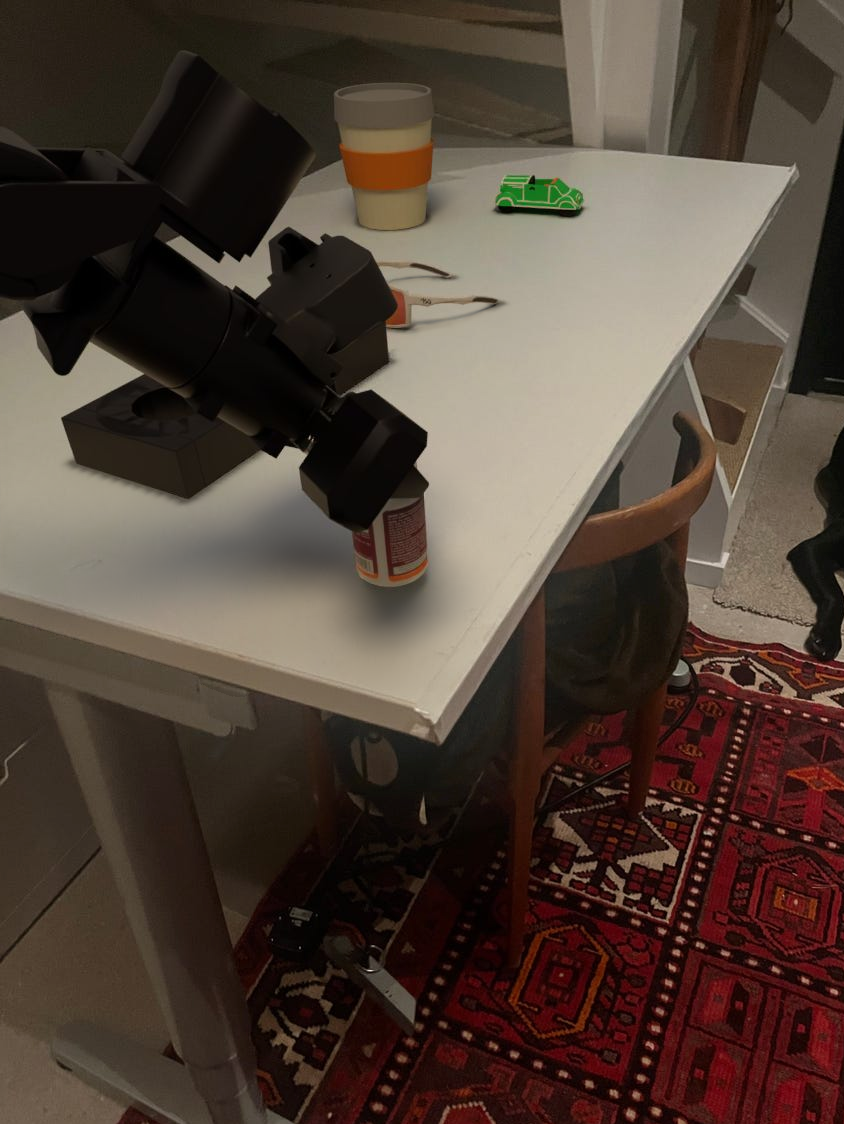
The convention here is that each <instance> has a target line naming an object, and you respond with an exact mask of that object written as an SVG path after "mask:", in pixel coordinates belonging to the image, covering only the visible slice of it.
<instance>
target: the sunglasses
mask: <svg viewBox="0 0 844 1124" xmlns="http://www.w3.org/2000/svg"><path fill="white" fill-rule="evenodd" d="M375 261H376V263H377V265H378V266H379V268H380V267H390V268H395V269H406V268H407V269H417V270H422V271H425V272H429V273H432V274H435V275H437V276H440V277H444V278H446V279H447V278H448V279H449V278H452V276H453V273H451V272H449V271H447V270H444V269H442V268H439V267H436V266H435V265H430V264H427V263H424V262H419V261H414V260H375ZM387 284H388V286H389V287H390V289H391V291H392V293H393V295H394V297H395V299H396V301H397V303H398V307H397V310H396V312H395V313H394V314H393V315H392V316H391V317H390V318H389V319H388V320H386V328H390V329H391V328H392V329H393V328H394V329H400V328H401V329H402V328H408V327H409V326H411V325H412V307H413V306H421V307H431V306H434V305H441V304H455V305H462V306H464V305H468V304H474V303H481V304H491V305H497V304H498V302H499V301H500V300H499V298H497V297H493V296H487V295H474V294H473V295H467V296H433V295H425V294H424V295H423V294H413V293H410V292H409V291H408V290H407V289H403V288H400V287H397V286H393V285H391V284H389V283H388V282H387Z"/></svg>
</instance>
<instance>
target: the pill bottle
mask: <svg viewBox="0 0 844 1124" xmlns="http://www.w3.org/2000/svg"><path fill="white" fill-rule="evenodd" d="M414 466H415V467H416V468H417V469H418V460H417V461H416V462H415V464H414ZM426 521H427V520H426V505H425V493H424V494H423V495H422V496H421V497H420V498H403V499H389V500H388V502H387V503H386V505H385V506H384V507H383V509H382V510H381V512H380V513H379V514H378V516H377V517H376V519H375V520H374V521H373V523H372V524H371V526H370V527H369V528H368V530H366V531H363V532H360V533H357V534H356V533H354V532H352V531H351V533H352V534H351V537H352V544H353V553H354V560H355V568H356V571H357V574H358V576H359V577H360V578H361V579H363V580H364V581H365V582H367V583H369V584H371V585H375V586H379V587H387V588H394V587H395V588H396V587H402V586H405V585H408V584H411V583H413V582H415V581H416V580H418V579H420V577H422V576H423V574H424V573H425V572H426V571H427V569H428V565H429V558H428V557H429V556H428V555H429V554H428V539H427V535H428V534H427V522H426Z"/></svg>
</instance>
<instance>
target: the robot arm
mask: <svg viewBox="0 0 844 1124" xmlns="http://www.w3.org/2000/svg"><path fill="white" fill-rule="evenodd" d="M316 157H317V153H316V151H315V149H314V148H313V147H312V145H311V144H310V143H309V142H308V141H307V139H306V138H304V136H303V135H302V134H301V133H300V132H299V131H298V130H297V129H296V128H295V127H294V126H292V124H291V123H290V122H288V120H286V118H284V117H283V116H282V115H281V114H280V113H279V112H278V111H276V110H275V109H273V108H270V107H268V106H266V105H263V104H261V103H259V102H258V101H257V100H256V99H255V98H254V97H252V96H251V95H250V94H248V92H246V91H245V90H243V89H242V88H241V87H240V86H238V85H237V84H236V83H234V82H233V81H232V80H230V79H229V78H228V77H225V76H224V75H223V74H221V73H219V72H218V71H217V70H216V69H215V68H214V67H213V66H212V65H211V64H210V63H209V62H208V61H207V60H206V59H205V58H203V57H202V56H201V55H200V54H197V53H194V52H191V51H188V50H179V51H178V52H177V54H176V55H175V57H174V59H173V60H172V61H171V63H170V65H169V67H168V69H167V70H166V72H165V74H164V77H163V80H162V83H161V87H160V89H159V93H158V95H157V97H156V99H155V100H154V102H153V103H152V105H151V107H150V109H149V110H148V112H147V113H146V115H145V116H144V118H143V119H142V122H141V123H140V125H139V126H138V128H137V130H136V132H135V133H134V134H133V137H132V138H131V140H130V142H129V143H128V145H127V146H126V148H125V150H124V151H123V153H122V155H121V156H120V158H119V157H118V156H116V155H115V154H114V153H112V152H111V151H109V150H108V149H105V148H92V147H90V146H87V147H86V148H85V147H84V148H83V147H47V146H44V147H43V146H41V147H40V146H33V145H32V144H31V143H29V142H28V141H27V140H25V139H24V138H22V137H21V136H20V135H19V134H17V133H16V132H14V131H12V130H10V129H8V128H6V127H4V126H1V125H0V298H3V299H6V300H11V301H23V303H22V305H21V310H22V311H23V313H24V314H25V315H26V317H27V318H28V320H29V322H30V323H31V325H32V328H33V330H34V334H35V339H36V346H37V349H38V350H39V352H40V354H41V355H42V356H43V358H44V359H45V360H46V362H47V363H48V365H49V366H50V369H52V371H53V372H54V373H55V374H56V375H57V376H60V377H66V376H68V375H69V374H70V373H71V372H72V371H73V369H74V367H75V366H76V364H77V362H78V361H79V359H80V358H81V356H82V355H83V353H84V351H85V349H86V348H87V346H88V345H89V343H91V344H93V345H94V346H95V347H97V348H99V349H101V350H103V351H105V352H106V353H108V354H110V355H111V356H112V357H114V358H117V359H118V360H120V361H122V362H123V363H125V364H127V365H129V366H130V367H132V368H133V369H135V370H137V371H139V373H142V374H145V375H147V376H149V377H150V378H152V379H154V380H155V381H157V382H159V383H161V384H162V385H164V386H166V387H167V388H169V389H171V390H172V391H174V392H176V393H177V394H179V395H181V396H182V397H183V398H184V399H185V400H186V401H187V402H188V404H189V405H190V406H191V407H192V408H193V409H194V410H195V411H196V413H198V414H200V415H202V416H203V417H205V418H207V419H208V420H210V421H212V422H213V421H214V420H215V418H216V417H218V418H220V419H222V420H223V421H225V422H227V423H228V424H230V425H232V426H234V427H235V428H237V429H239V430H240V431H242V432H244V433H245V434H247V435H249V437H250V436H251V437H250V439H251V440H252V441H253V442H254V443H255V444H256V445H257V446H258V447H259V448H260V451H262V452H264V453H265V454H267V455H269V456H270V457H272V458H274V459H275V460H277V459H278V457H279V456H280V454H281V453H282V451H283V450H284V449H285V448H286V447H288V448H293V449H297V450H299V451H301V453H303V454H305V455H306V456H305V458H304V459H303V460H302V462H301V464H300V465H299V466H298V472H299V480H300V485H301V490H302V492H303V493H304V494H305V495H306V496H307V497H308V498H309V499H310V500H311V501H312V502H313V503H314V504H315V506H316V507H317V508H318V509H319V510H320V511H321V512H322V513H323V514H324V515H325V516H326V517H327V518H328V519H329V520H330V521H332V522H333V523H335V524H338V525H339V526H341V527H342V528H345V529H347V530H349V531H350V532H351V533H352V532H354V533H356V534H357V533H360V532H363V531H366V530H368V528H369V527H370V526H371V524H372V523H373V521H374V520H375V519H376V517H377V516H378V514H379V513H380V512H381V510H382V509H383V507H384V506H385V505H386V503H387V502H388V500H389V499H403V498H420V497H421V496H422V495H423V494H424V495H425V492H426V491H427V490H428V488H429V486H430V482H429V481H428V479H427V478H426V477H424V475H423V474H422V472H421V471H420V470H419V469H418V467H417V468H416V467H415V466H414V464H415V462H416V461H417V462H418V459H420V456H422V454H423V453H424V451H425V450H426V448H427V447H428V438H429V437H428V436H429V432H428V431H427V430H426V429H424V428H423V427H421V426H420V425H419V424H418V423H417V422H415V421H414V420H413V419H411V418H410V417H409V416H407V414H405V413H404V412H403V411H401V410H400V409H399V408H397V407H396V406H395V405H393V404H392V403H391V402H389V401H388V400H387V399H385V398H384V397H383V396H381V395H380V394H378V393H377V392H376V391H374V390H373V389H367V390H363V391H360V392H355V391H348V392H346V394H344V395H342V396H341V395H338V393H337V389H336V383H335V381H336V379H337V378H338V376H339V375H340V373H341V372H342V370H343V369H344V366H343V365H341V364H340V363H339V362H338V361H336V360H335V359H334V358H332V357H331V356H329V355H328V354H334V353H337V352H340V351H342V350H343V349H345V348H346V347H347V346H349V345H350V344H351V343H353V342H354V341H355V340H356V339H358V338H359V337H360V336H361V335H363V334H364V333H365V332H367V331H368V330H369V329H370V328H372V327H373V326H374V325H376V324H377V323H378V322H385V321H386V320H388V319H389V318H390V317H391V316H392V315H393V314H394V313H395V312H396V310H397V307H398V303H397V301H396V299H395V297H394V295H393V293H392V291H391V289H390V287H389V286H388V284H389V283H388V281H387V280H386V278H385V276H384V274H383V272H382V270H381V269H380V267H379V266H378V265H377V263H376V261H377V260H376V258H375V257H374V255H373V254H372V251H370V250H369V249H367V247H364V246H362V245H360V244H359V243H357V242H356V241H353V240H352V239H350V238H348V237H346V236H344V235H333V236H331V235H330V234H328V233H326V232H325V233H323V234H322V235H320V237H319V239H320V240H321V243H320V244H318V243H316V242H314V241H313V240H311V239H310V238H308V237H307V236H305V235H303V234H302V233H300V232H299V231H298V230H296V229H294V228H292V227H291V226H287V227H285V228H284V229H282V230H281V231H280V232H278V233H277V234H276V235H274V236H273V237H272V238H270V239H269V240H268V242H267V243H268V254H269V261H270V270H271V274H269V275H268V276H267V277H266V279H267V281H268V282H269V284H270V285H269V286H268V287H267V288H266V289H264V290H263V292H261V293H260V294H259V295H258V296H257V297H256V298H254V297H253V296H252V295H250V294H249V293H247V292H246V291H245V290H243V289H242V288H240V287H239V286H238V285H234V287H233V288H231V287H229V286H228V285H226V284H223V283H221V281H219V280H217V279H216V278H214V277H213V276H212V275H211V274H209V273H208V272H207V271H205V270H204V269H203V268H201V267H200V266H198V265H196V264H195V263H194V262H193V261H191V260H190V259H189V258H187V257H186V256H184V255H183V254H182V253H180V252H178V251H177V250H176V249H175V248H173V247H172V246H170V245H169V244H168V243H166V242H165V241H164V240H162V239H161V238H159V237H158V236H157V235H156V234H157V232H158V230H159V229H160V227H161V226H162V224H164V225H166V226H167V227H169V228H170V229H171V230H173V231H174V232H175V233H177V234H178V235H179V236H181V237H182V238H184V240H186V241H188V242H189V243H190V244H191V245H193V246H194V247H195V248H197V249H198V250H199V251H201V252H202V253H204V254H205V255H207V256H208V257H209V258H210V259H212V260H213V261H215V263H217V264H218V265H220V264H221V262H222V261H223V259H224V257H225V256H226V254H227V255H228V256H230V257H231V258H233V260H235V261H237V262H238V263H241V261H242V260H243V258H244V257H245V255H246V256H247V257H249V258H252V256H253V255H254V253H255V252H256V250H257V249H258V247H259V246H260V244H261V242H262V241H263V239H264V238H265V236H266V235H267V233H268V232H269V230H270V229H271V227H272V225H273V224H274V222H275V220H277V218H278V216H279V215H280V213H281V211H282V210H283V208H284V207H285V205H286V203H287V202H288V200H289V199H290V198H291V196H292V195H293V192H294V191H295V190H296V188H297V187H298V185H299V184H300V182H301V180H302V179H303V177H304V175H305V174H306V172H307V171H308V169H309V168H310V166H311V165H312V163H313V161H314V160H315V158H316ZM225 253H226V254H225ZM387 283H388V284H387ZM50 293H51V294H50ZM44 295H47V296H45V297H42V296H44ZM39 297H42V298H39ZM38 298H39V299H38Z"/></svg>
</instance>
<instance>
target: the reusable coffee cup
mask: <svg viewBox="0 0 844 1124" xmlns="http://www.w3.org/2000/svg"><path fill="white" fill-rule="evenodd" d="M333 110H334V111H333V114H334V115H333V116H334V117H333V118H334V119H333V120H334V121H335V122H336V123H337V126H338V131H339V136H340V140H341V142H340V143H339V144H338V147H339V151H340V157H341V160H342V164H343V168H344V175H345V178H346V182H347V184H348V185H350V187H351V191H352V197H353V200H354V204H355V205H354V206H355V209H356V214H357V219H358V222H359V224H360V225H361V226H362V227H364V228H367V229H371V230H379V231H397V230H405V229H411V228H414V227H418V226H419V225H422V224H423V223H425V222H426V217H427V199H428V186H429V185H428V184H429V182H430V181H431V179H432V172H433V171H432V170H433V158H434V157H433V156H434V139H433V138H432V137H431V136H432V120H433V118H435V109H434V102H433V94H432V89H431V88H430V87H428V86H426V85H422V84H417V83H407V82H377V83H376V82H373V83H364V84H363V83H361V84H355V85H351V86H346V87H342V88H340V89H337V90H335V92H334V93H333Z"/></svg>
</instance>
